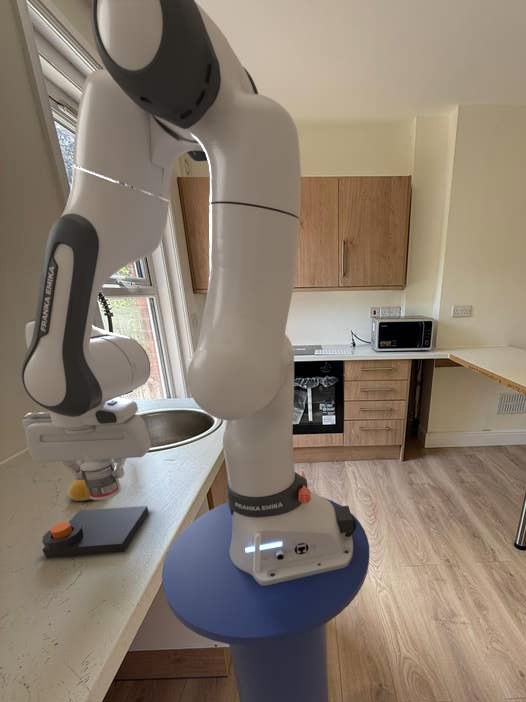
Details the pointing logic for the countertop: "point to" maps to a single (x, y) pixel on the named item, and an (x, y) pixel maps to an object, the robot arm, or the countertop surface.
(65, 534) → the button
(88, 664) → the countertop surface
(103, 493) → the pill bottle
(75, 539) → the scale
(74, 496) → the bread roll
